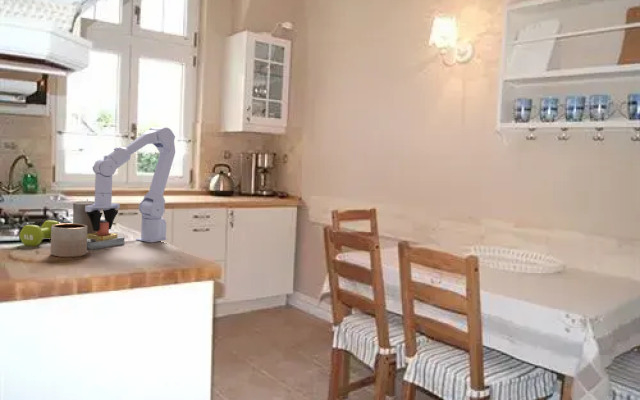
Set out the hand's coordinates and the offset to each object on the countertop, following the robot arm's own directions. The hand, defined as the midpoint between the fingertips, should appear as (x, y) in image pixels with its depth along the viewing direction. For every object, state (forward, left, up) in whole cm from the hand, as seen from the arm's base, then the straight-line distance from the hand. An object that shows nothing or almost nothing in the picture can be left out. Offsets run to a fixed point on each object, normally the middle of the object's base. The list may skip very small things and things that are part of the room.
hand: (102, 229), depth 200 cm
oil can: (0, 0, -3) cm, 3 cm away
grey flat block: (+3, 0, -5) cm, 6 cm away
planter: (+20, +6, -6) cm, 22 cm away
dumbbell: (+12, -16, -6) cm, 21 cm away
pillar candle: (-5, -13, -5) cm, 15 cm away
